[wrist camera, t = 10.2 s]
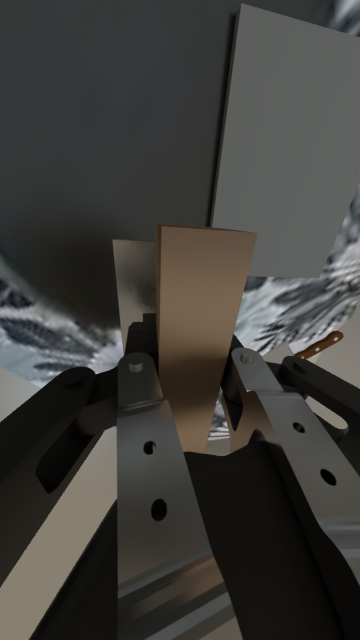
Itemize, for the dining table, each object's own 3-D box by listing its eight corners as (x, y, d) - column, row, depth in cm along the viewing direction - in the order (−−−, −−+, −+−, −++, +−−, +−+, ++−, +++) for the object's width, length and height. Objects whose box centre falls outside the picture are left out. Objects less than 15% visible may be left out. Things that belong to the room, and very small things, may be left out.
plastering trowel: (112, 218, 10) (64, 219, 4) (232, 227, 11) (326, 237, 5) (128, 386, 16) (117, 482, 10) (204, 380, 17) (234, 463, 12)
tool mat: (203, 273, 26) (205, 275, 25) (236, 15, 16) (241, 3, 15) (313, 276, 29) (319, 278, 28) (402, 61, 19) (414, 53, 18)
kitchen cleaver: (335, 308, 32) (346, 345, 36) (330, 306, 33) (342, 342, 37) (218, 378, 36) (240, 404, 41) (216, 374, 37) (238, 400, 42)
